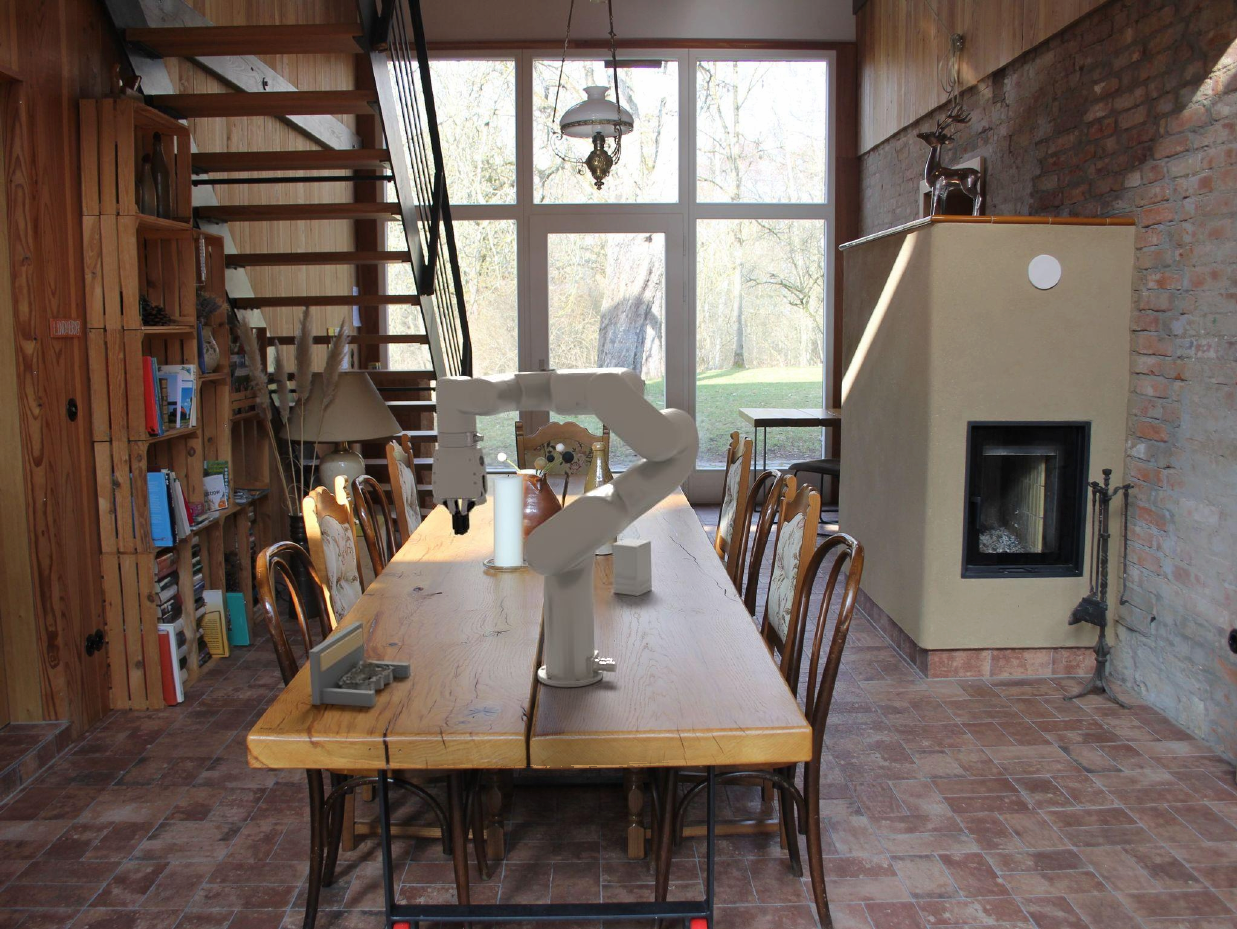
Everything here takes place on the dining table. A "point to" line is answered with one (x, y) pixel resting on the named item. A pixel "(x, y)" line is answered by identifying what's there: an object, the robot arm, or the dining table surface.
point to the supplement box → (632, 566)
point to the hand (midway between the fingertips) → (461, 533)
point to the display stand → (344, 668)
